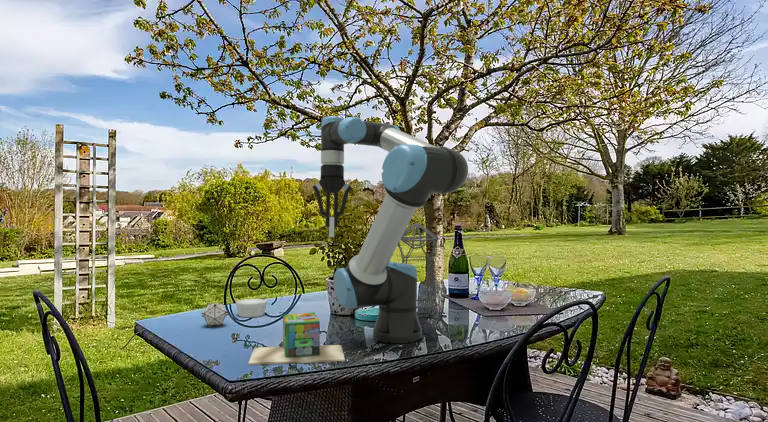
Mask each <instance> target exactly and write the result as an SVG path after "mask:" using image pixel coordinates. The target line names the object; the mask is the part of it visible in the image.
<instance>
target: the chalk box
mask: <svg viewBox="0 0 768 422" xmlns="http://www.w3.org/2000/svg"><path fill="white" fill-rule="evenodd" d="M320 322H321V321H320V320H319V319H318V316H317V315H316V312H313V311H311V312H299V313H298V312H297V313H288V314H287V313H286V314H283V317H282V338H283V339H282V347H284V352H285V356H286V357H298V356H310V355H320V346H321V344H320V342H321V341H320V338H321V337H320V335H321V332H320V330H321V329H320V326H321V325H320V324H321V323H320Z"/></svg>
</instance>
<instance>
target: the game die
mask: <svg viewBox="0 0 768 422" xmlns="http://www.w3.org/2000/svg"><path fill="white" fill-rule="evenodd" d="M206 304H207V305H206V308H205V310H204V312H201V317H202V318H203V317H204V319H205V323H206V326H205V327H206V328H208V327H209V326H221V327H224V325H223V322H224V320H225V318H226V316H227V317H228V315H229V311H227V310H226V309H225V307H224V301H222V302H221V303H209V301H207V302H206Z"/></svg>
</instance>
